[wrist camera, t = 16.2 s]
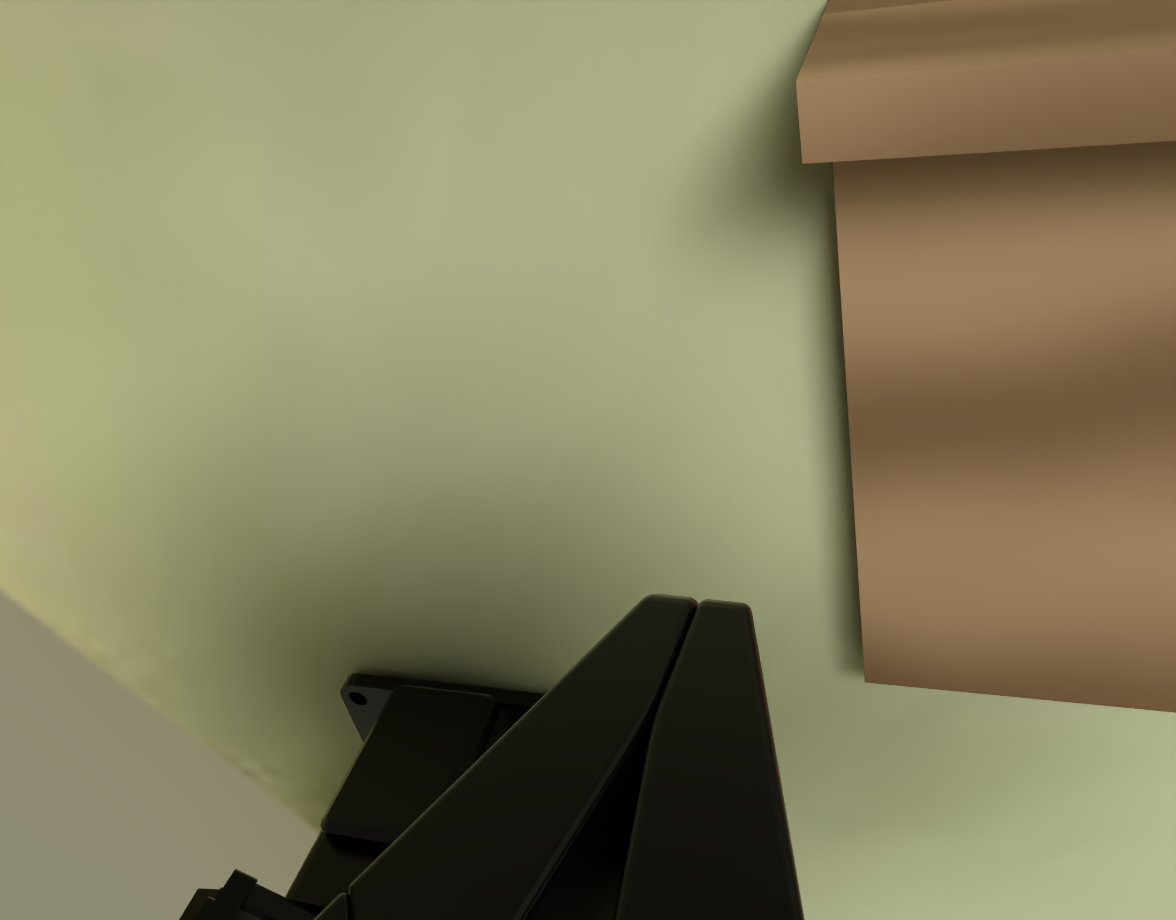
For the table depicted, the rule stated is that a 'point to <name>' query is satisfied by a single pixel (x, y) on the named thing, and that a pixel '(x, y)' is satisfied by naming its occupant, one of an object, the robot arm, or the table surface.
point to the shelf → (1007, 337)
